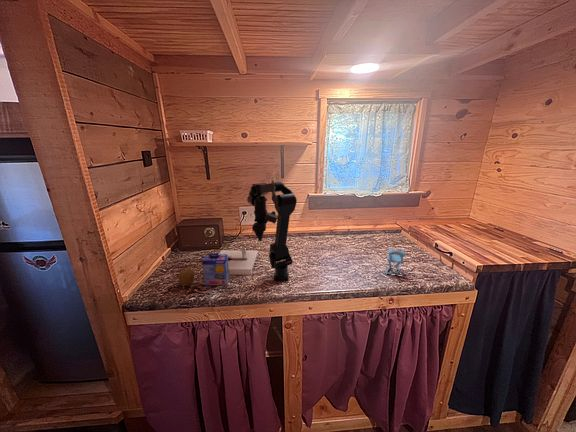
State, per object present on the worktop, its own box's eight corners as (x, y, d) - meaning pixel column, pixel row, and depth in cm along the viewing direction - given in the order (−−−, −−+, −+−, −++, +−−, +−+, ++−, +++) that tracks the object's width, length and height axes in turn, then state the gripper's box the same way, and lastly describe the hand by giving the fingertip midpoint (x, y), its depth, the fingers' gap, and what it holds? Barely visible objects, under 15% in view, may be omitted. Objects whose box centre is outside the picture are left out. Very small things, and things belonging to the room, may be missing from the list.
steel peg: (248, 266, 114) (247, 249, 111) (239, 266, 114) (238, 249, 111) (249, 262, 118) (248, 246, 115) (241, 262, 118) (240, 246, 115)
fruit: (197, 281, 101) (195, 265, 99) (191, 289, 95) (189, 272, 93) (184, 281, 101) (181, 264, 99) (176, 289, 95) (174, 272, 93)
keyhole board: (251, 274, 106) (251, 269, 105) (208, 274, 106) (208, 268, 106) (258, 255, 125) (257, 250, 124) (221, 255, 126) (221, 250, 125)
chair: (401, 268, 111) (404, 246, 108) (403, 277, 103) (407, 253, 100) (384, 266, 113) (387, 243, 110) (385, 274, 106) (388, 250, 103)
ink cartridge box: (204, 286, 97) (200, 255, 93) (207, 279, 103) (204, 249, 99) (227, 285, 98) (224, 254, 94) (229, 278, 103) (227, 248, 99)
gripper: (275, 213, 105) (276, 245, 109) (277, 204, 122) (277, 231, 127) (251, 213, 104) (253, 245, 109) (256, 204, 122) (257, 231, 127)
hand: (261, 237), depth 118 cm, fingers open, 9 cm apart
